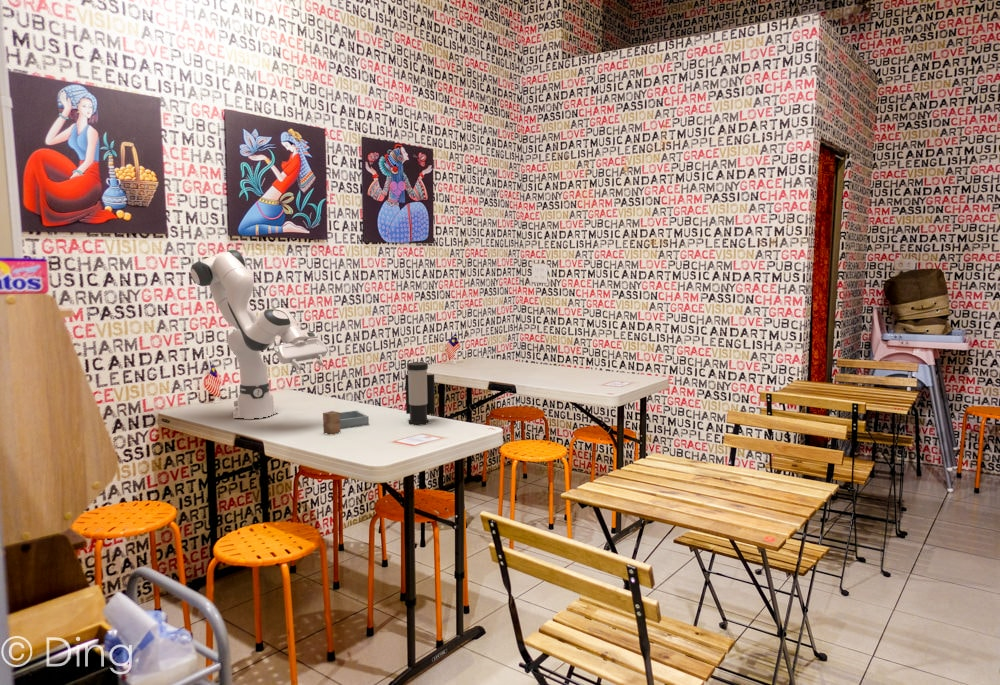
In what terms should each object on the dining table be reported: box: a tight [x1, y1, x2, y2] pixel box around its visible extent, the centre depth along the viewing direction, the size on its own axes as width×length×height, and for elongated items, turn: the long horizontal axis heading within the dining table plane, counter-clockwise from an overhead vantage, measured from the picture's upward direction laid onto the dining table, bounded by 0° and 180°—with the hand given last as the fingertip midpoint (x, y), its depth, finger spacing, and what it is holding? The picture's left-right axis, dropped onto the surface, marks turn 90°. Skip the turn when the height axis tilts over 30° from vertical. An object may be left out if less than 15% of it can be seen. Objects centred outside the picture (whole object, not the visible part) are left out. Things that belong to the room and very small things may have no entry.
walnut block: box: [322, 410, 341, 435], centre depth 268 cm, size 4×4×8 cm
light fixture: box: [404, 361, 436, 426], centre depth 283 cm, size 12×11×25 cm
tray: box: [340, 410, 370, 430], centre depth 283 cm, size 14×14×4 cm
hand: (311, 366), depth 271 cm, fingers open, 8 cm apart
